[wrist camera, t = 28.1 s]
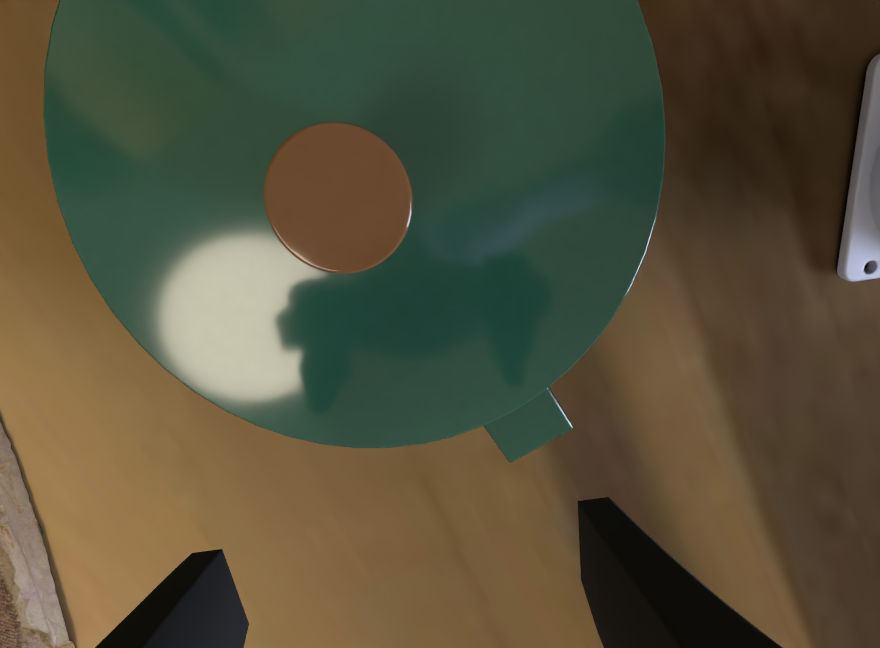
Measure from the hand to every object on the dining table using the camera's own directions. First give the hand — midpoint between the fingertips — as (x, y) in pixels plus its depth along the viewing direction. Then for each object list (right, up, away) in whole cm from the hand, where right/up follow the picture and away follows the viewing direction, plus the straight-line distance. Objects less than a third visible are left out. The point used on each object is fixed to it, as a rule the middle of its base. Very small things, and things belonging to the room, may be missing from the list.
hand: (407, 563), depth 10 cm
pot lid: (-1, +8, +2) cm, 9 cm away
